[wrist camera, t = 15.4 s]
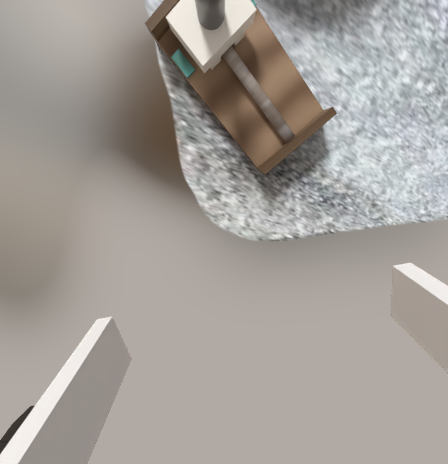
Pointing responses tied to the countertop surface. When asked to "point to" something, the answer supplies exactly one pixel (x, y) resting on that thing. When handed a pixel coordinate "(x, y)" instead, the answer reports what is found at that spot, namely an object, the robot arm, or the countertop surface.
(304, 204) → the countertop surface
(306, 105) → the rail board
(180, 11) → the carriage
